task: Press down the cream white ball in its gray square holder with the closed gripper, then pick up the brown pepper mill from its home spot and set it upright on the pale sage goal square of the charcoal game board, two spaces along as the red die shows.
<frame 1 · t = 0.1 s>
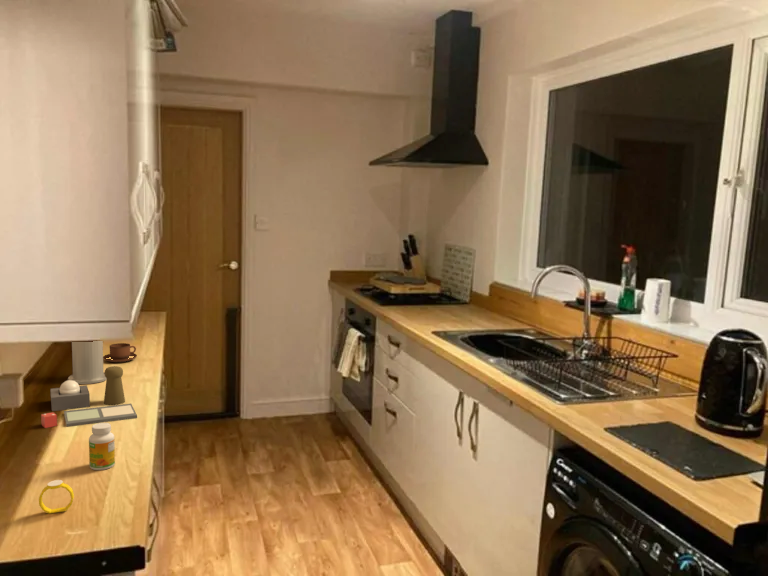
hand: (91, 281, 193), 37 cm above the counter, tool pointing down, fingers open, 9 cm apart
supplement bottle: (102, 466, 148), on the counter
brown pepper mill: (114, 402, 195), on the counter
gray square holder: (70, 404, 192), on the counter
cream white ball: (69, 389, 191), point 5 cm above the counter, slide at 0.0 cm
game board: (100, 415, 182), on the counter
cup and saucer: (120, 361, 247), on the counter
watch: (57, 512, 126), on the counter
red die: (49, 425, 173), on the counter
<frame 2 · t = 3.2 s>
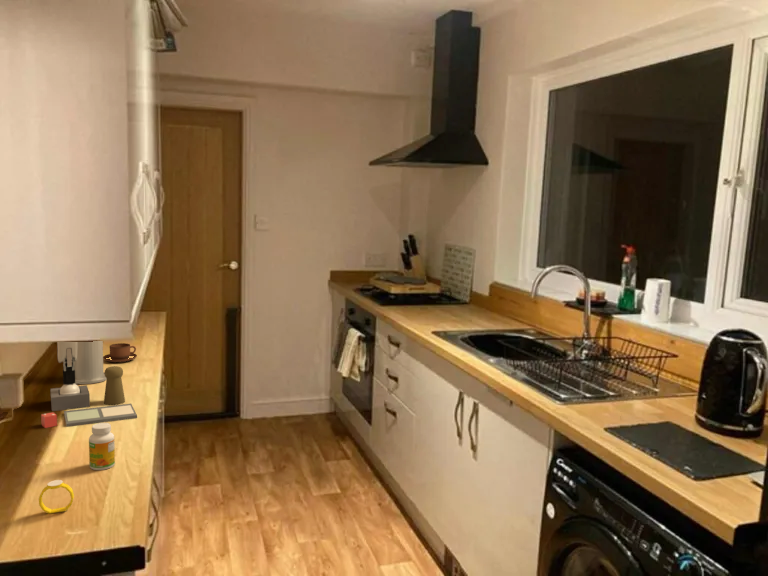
hand: (69, 383, 191), 7 cm above the counter, tool pointing down, fingers closed
cream white ball: (69, 391, 191), point 4 cm above the counter, slide at 0.8 cm, touching gripper
everything else where it was.
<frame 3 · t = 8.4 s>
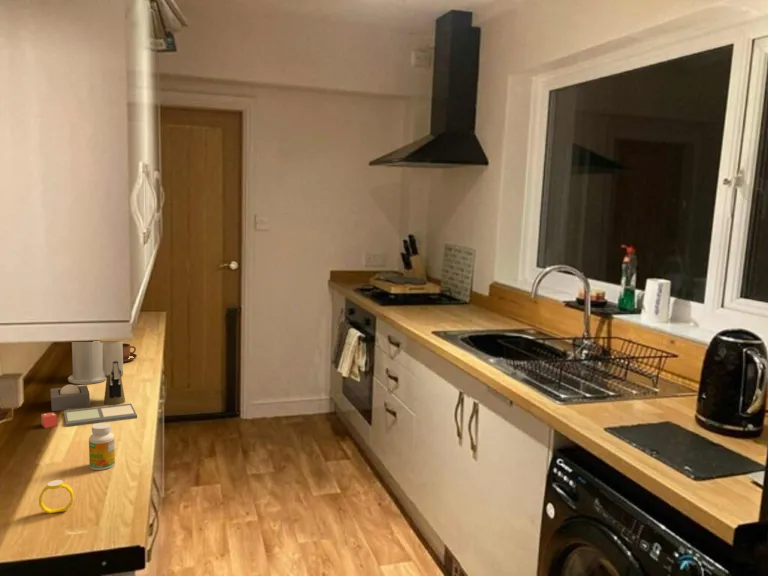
hand: (114, 394, 195), 2 cm above the counter, tool pointing down, fingers closed on brown pepper mill, 4 cm apart
brown pepper mill: (114, 402, 195), on the counter, touching gripper
cream white ball: (69, 393, 191), point 3 cm above the counter, slide at 1.3 cm
everything else where it was.
when the fingers open (4 cm above the counter, at t = 13.7 s): brown pepper mill stays where it is, resting on game board.
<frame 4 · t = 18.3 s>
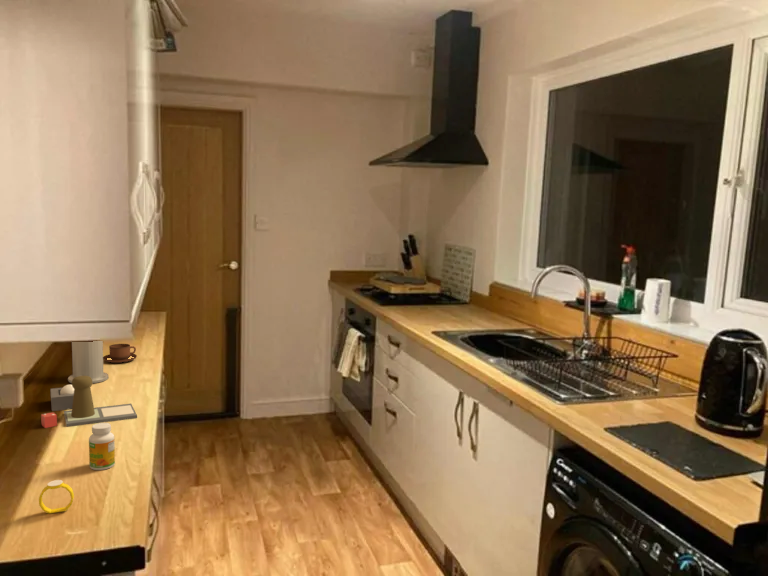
hand: (103, 307, 196), 28 cm above the counter, tool pointing down, fingers open, 9 cm apart
brown pepper mill: (83, 415, 180), point 1 cm above the counter, touching game board
everything else where it was.
at the end: cream white ball slide at 1.3 cm; brown pepper mill 0.2 cm from the target spot on the game board, point 0.7 cm above the game board's base; brown pepper mill tilted 0° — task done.
